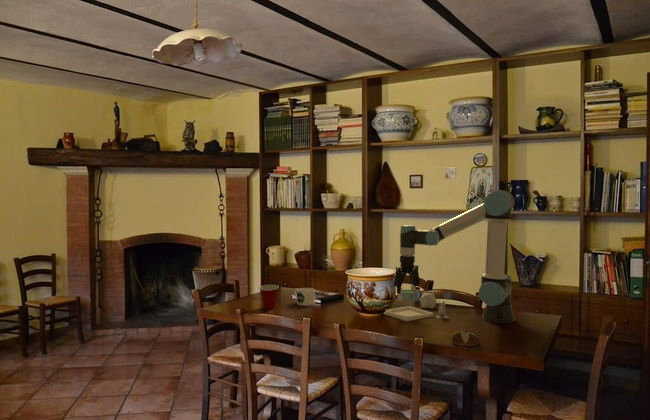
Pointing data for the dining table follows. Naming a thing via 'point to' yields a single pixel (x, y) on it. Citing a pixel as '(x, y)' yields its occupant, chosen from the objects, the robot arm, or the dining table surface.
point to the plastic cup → (269, 295)
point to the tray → (408, 313)
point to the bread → (465, 339)
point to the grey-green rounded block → (409, 295)
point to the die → (428, 300)
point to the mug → (305, 296)
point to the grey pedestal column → (441, 310)
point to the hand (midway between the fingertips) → (406, 298)
